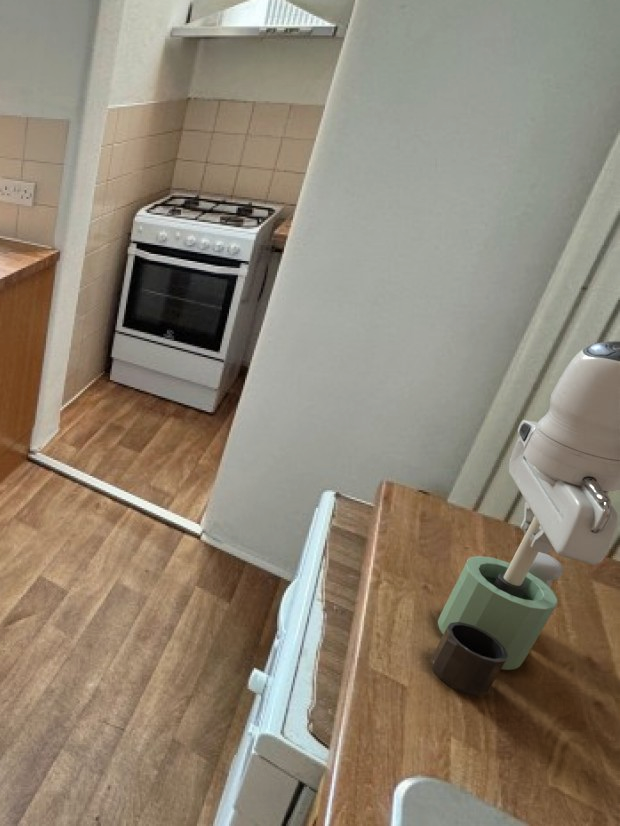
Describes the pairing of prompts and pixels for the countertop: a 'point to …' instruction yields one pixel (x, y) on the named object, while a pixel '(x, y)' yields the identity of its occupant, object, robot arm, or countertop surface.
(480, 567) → the jar
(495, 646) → the holder
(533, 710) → the countertop surface
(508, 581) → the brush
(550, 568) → the salt shaker
